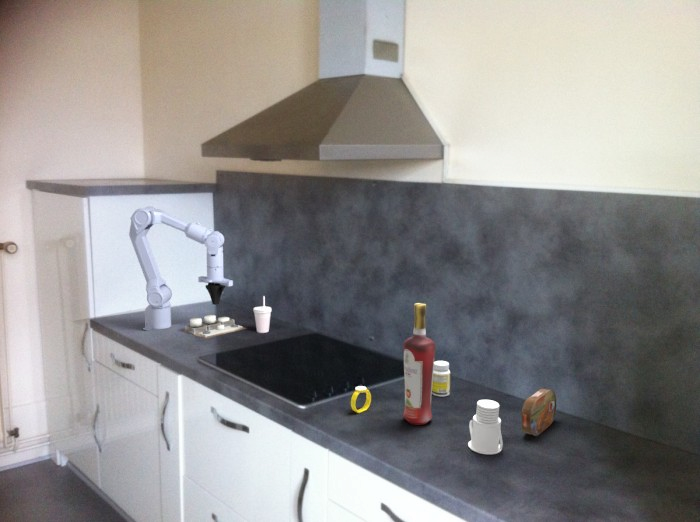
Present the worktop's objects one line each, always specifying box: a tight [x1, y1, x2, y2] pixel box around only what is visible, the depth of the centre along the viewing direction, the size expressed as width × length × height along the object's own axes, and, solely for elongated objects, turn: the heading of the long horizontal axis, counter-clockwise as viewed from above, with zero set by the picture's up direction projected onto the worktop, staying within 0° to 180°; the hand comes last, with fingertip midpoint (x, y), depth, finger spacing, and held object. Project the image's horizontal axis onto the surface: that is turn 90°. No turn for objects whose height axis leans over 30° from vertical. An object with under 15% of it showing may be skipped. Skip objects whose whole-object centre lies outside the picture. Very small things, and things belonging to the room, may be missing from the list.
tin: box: [521, 388, 557, 437], centre depth 147 cm, size 15×3×8 cm, turn 142°
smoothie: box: [252, 295, 273, 334], centre depth 225 cm, size 6×6×14 cm
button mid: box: [203, 314, 217, 324], centre depth 228 cm, size 4×4×2 cm
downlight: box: [467, 399, 504, 455], centre depth 137 cm, size 8×7×10 cm
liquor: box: [402, 302, 436, 426], centre depth 150 cm, size 7×7×28 cm
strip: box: [198, 324, 244, 337], centre depth 225 cm, size 4×16×2 cm, turn 139°
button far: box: [217, 316, 230, 322], centre depth 233 cm, size 4×4×2 cm
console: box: [181, 317, 248, 339], centre depth 227 cm, size 14×18×4 cm
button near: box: [189, 317, 203, 327], centre depth 224 cm, size 4×4×2 cm
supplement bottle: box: [432, 360, 451, 398], centre depth 169 cm, size 5×5×8 cm
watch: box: [350, 385, 372, 414], centre depth 157 cm, size 6×3×6 cm, turn 136°
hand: (215, 304), depth 230 cm, fingers closed
